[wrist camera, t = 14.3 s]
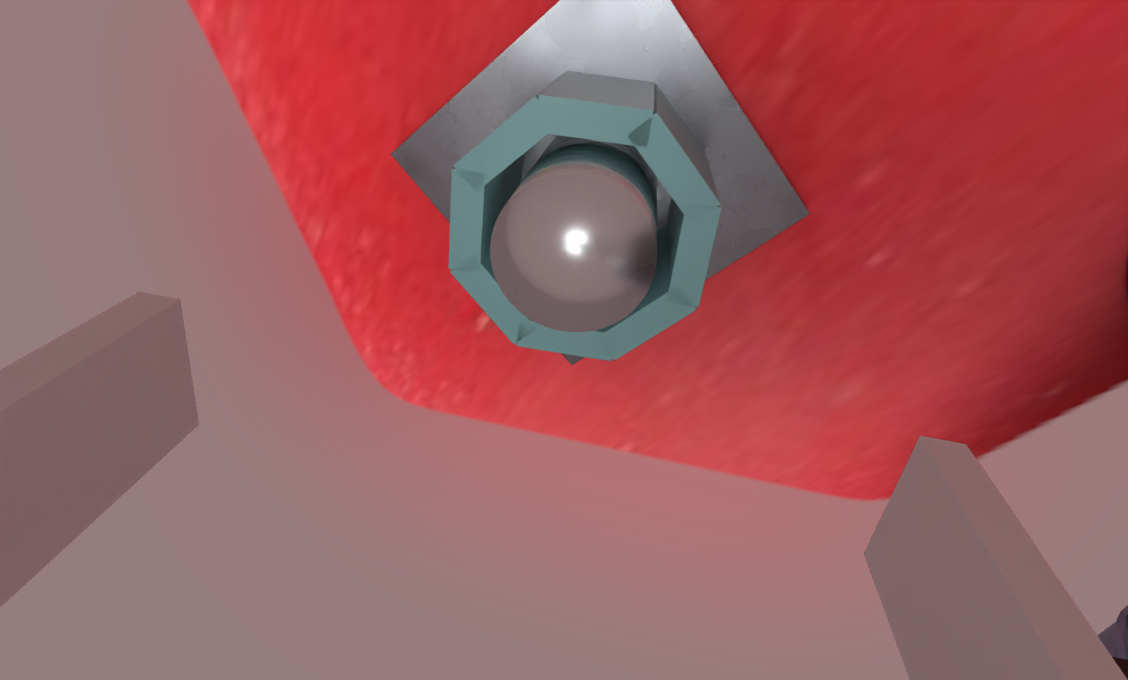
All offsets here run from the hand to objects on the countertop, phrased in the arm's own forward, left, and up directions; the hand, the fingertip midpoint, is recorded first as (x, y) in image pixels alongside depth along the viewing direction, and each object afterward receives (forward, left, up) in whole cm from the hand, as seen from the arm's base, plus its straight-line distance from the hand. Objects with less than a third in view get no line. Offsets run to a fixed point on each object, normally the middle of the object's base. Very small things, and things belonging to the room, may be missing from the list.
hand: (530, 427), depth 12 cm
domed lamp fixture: (0, +1, -22) cm, 22 cm away
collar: (0, +1, -21) cm, 21 cm away
